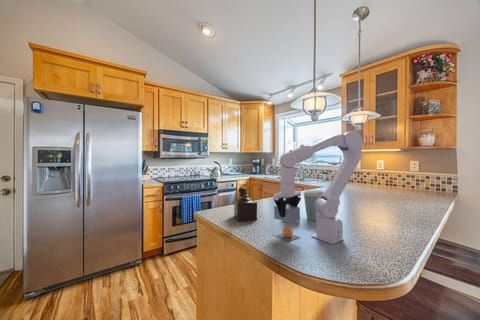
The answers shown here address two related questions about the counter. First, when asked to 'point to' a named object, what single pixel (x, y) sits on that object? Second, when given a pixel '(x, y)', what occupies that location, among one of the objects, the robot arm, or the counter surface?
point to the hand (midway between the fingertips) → (287, 215)
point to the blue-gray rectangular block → (288, 214)
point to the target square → (287, 237)
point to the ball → (287, 232)
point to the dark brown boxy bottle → (245, 207)
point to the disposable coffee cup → (311, 202)
